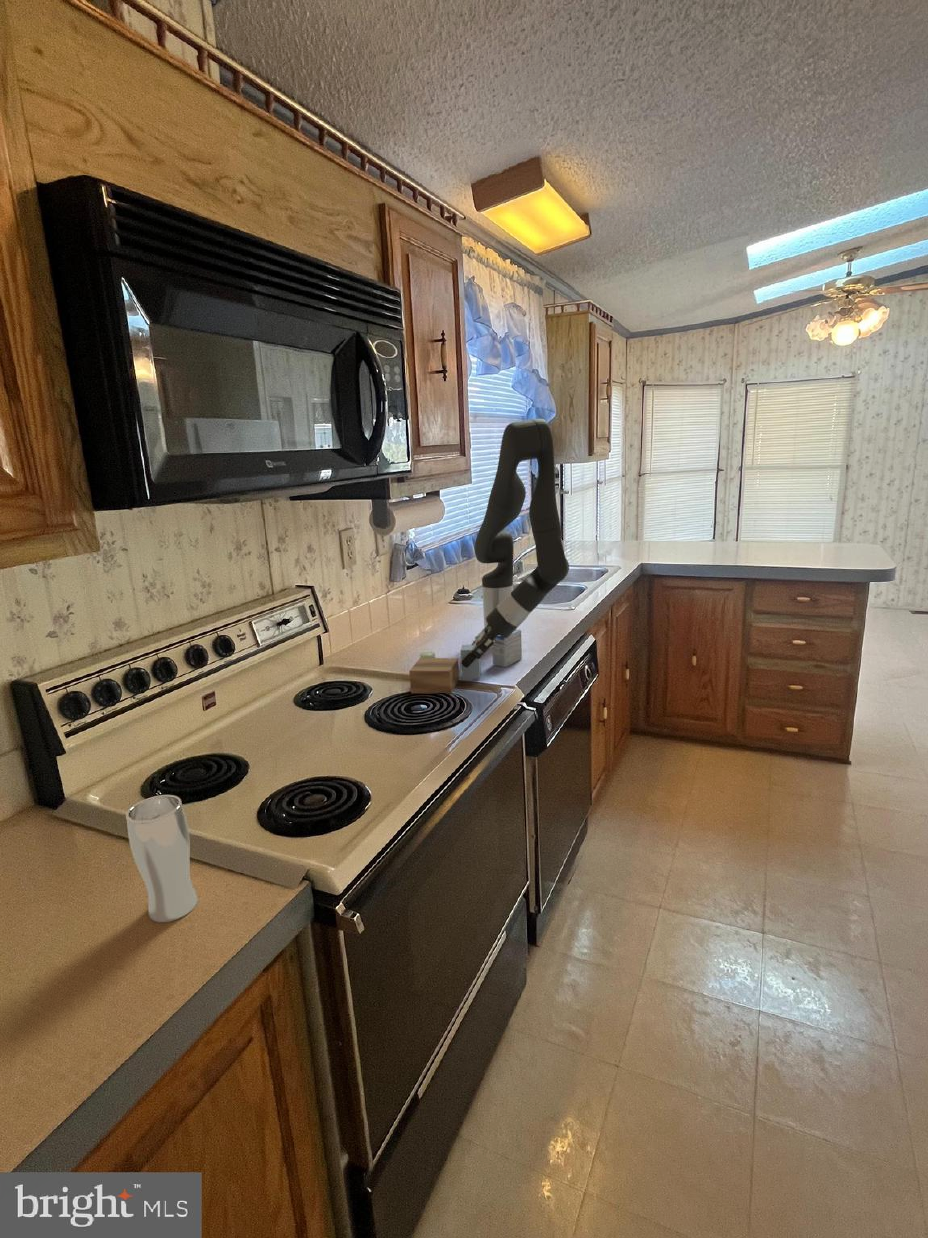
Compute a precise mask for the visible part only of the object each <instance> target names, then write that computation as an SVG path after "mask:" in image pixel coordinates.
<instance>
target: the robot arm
mask: <svg viewBox="0 0 928 1238" xmlns="http://www.w3.org/2000/svg"><path fill="white" fill-rule="evenodd" d="M499 450H500V451H499V457H498V462H497V463H498V465H497V467H496V468H497V469H496V472H495V477H494V479H493V480H494V481H493V483H492V484H493V485H492V487H491V490H490V494H489V496H488V502H487V506H486V511H485V515H484V518H483V521H482V523H481V526H480V528H479V531H478V532H477V535H476V538H475V542H474V555H475V558H476V560H477V561H478V562H479V563H481V564H487V565H488V564H497V563H498V565H497V566H496V568H494V569H493V570H492V571H490V572H488V573H486V574H484V575H483V576H482V578H481V583H482V584H481V585H482V590H481V591H482V604H483V605H482V608H483V624H484V625H483V629H481V631H480V632H479V633H478V634H477V635H476V636H475V637H474V639H473V640H472V643H471V644H470V645H475V646H474V648H473V649H472V650H471V651H470V653H469V654H468V655H467V656H466V657H465V658H464V659H463V660H462V661H461V660H460V661H461V662H460V664H462V665H463V666H464V667H465V668H467V667H469V666H470V664H471V663H472V662H473V661H474V660H475V659H476V658H477V659H480V660H481V658H482V656H484V654H485V653H486V652H487V651H488V650H490V649H491V648H492V646H493V645H494V643H495V641H496V640H495V639H496V638H497V636H498V635H500V636H501V637H503V638H508V637H509V636H510V635H511V634H512V633H513V632H514V630H515V629H518V628H519V626H520V625H522V623H523V622H525V620H526V619H527V618H528V616H529V615H530V614H531V613H532V612H533V611H534V610H535V609H536V607H538V606H539V605H540V603H541V602H542V601H543V600H544V598H545V597H546V596H547V595H548V594H549V593H550V592H551V591H552V590H553V589H554V588H555V587H556V586H558V585H559V583H560V582H563V580H565V578H566V577H567V576H568V573H569V571H570V564H569V561H568V559H567V558H566V554H565V550H564V546H563V532H562V527H561V526H562V525H561V521H560V520H561V519H560V515H559V510H558V506H557V505H558V504H557V495H556V494H557V493H556V476H555V475H556V474H555V473H556V471H555V455H554V453H555V452H554V451H555V450H554V440H553V434H552V430H551V427H550V425H549V423H548V422H547V420H545V419H543V418H533V419H525V420H519V421H514V422H511V423H509V424H508V425H506V427H505V428H504V430H503V434H502V438H501V444H500V449H499ZM530 460H536V463H537V471H538V474H537V480H536V484H535V488H534V491H533V493H532V497H531V499H530V504H529V508H528V509H529V510H528V516H529V522H530V526H531V527H530V528H531V532H532V537H533V540H534V544H535V555H536V564H537V566H536V567H535V568H534V569H533V570H532V572H531V573H530V574H529V575H528V576H527V577H526V578H524V579H523V580H522V581H521V582H520V583H519V584H518V585H517V586H516V587H515V588H514V580H513V579H514V550H515V549H514V539H513V536H512V534H511V532H510V531H508V530H504V529H507V527H508V526H509V525H511V524H512V523H513V522H514V521H515V520H516V519H517V518H518V517H519V516H520V514H521V512H522V509H523V507H524V503H525V500H526V495H527V491H526V487H525V484H524V482H523V481H522V479H521V477H520V475H519V474H518V472H517V469H518V465H520V463H522V462H524V461H530ZM478 648H479V649H480V652H479V653H478V652H477V651H476V650H477V649H478Z"/></svg>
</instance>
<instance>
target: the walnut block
mask: <svg viewBox="0 0 928 1238" xmlns="http://www.w3.org/2000/svg"><path fill="white" fill-rule="evenodd" d="M458 680H459V681H460V671H459V658H458V657H457V658H456V657H455V658H454V657H435V658H420V657H419V659H418V660H416V662H415V663H414V665H413V666H412V667H411V668H410V669H409V681H410V683H409V684H410V693H411V694H430V693H446V694H445V695H452V693H453V692H454V689H455V687H456V685H457V684H458V682H459V681H458Z"/></svg>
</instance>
